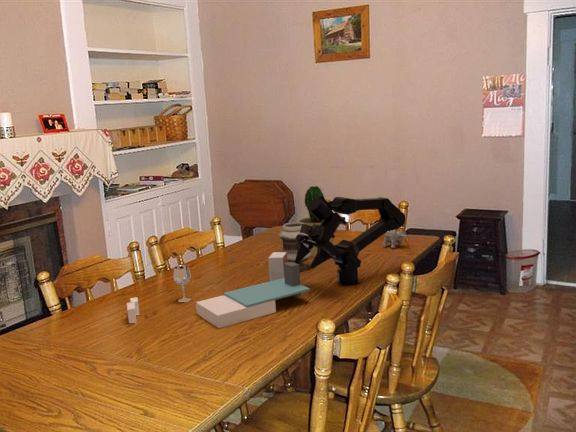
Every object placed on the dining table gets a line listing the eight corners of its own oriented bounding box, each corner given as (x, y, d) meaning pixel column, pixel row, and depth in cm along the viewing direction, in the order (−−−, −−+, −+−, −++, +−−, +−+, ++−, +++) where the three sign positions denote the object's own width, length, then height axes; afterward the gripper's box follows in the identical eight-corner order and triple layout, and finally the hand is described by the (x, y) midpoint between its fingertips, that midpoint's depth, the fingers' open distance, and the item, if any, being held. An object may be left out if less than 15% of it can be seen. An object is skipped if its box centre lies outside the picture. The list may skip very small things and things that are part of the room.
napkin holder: (136, 328, 179) (134, 310, 178) (106, 325, 184) (104, 308, 183) (164, 311, 193) (162, 295, 192) (135, 309, 197) (133, 292, 196)
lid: (284, 287, 204) (282, 258, 202) (310, 298, 191) (308, 267, 189) (224, 303, 192) (221, 272, 190) (247, 316, 179) (245, 283, 177)
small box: (284, 285, 211) (282, 257, 209) (269, 285, 212) (267, 257, 210) (289, 278, 218) (287, 251, 216) (274, 279, 219) (272, 251, 217)
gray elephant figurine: (388, 244, 261) (386, 228, 259) (414, 245, 255) (413, 227, 253) (381, 250, 253) (379, 232, 252) (407, 250, 247) (406, 232, 246)
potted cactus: (342, 250, 255) (338, 182, 249) (325, 259, 242) (321, 187, 236) (311, 247, 263) (307, 181, 257) (293, 256, 250) (289, 187, 245)
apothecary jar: (276, 272, 228) (273, 227, 225) (288, 263, 239) (285, 220, 236) (305, 273, 224) (302, 227, 220) (316, 264, 235) (313, 221, 231)
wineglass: (195, 298, 203) (192, 264, 201) (187, 303, 198) (184, 269, 195) (181, 297, 205) (177, 264, 203) (173, 302, 200) (169, 269, 197)
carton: (251, 299, 197) (250, 288, 197) (275, 312, 184) (275, 300, 183) (197, 314, 187) (195, 302, 186) (218, 328, 174) (217, 315, 173)
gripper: (297, 211, 205) (273, 247, 201) (329, 218, 189) (303, 257, 186) (317, 229, 210) (294, 265, 207) (349, 237, 195) (325, 276, 191)
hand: (303, 265), depth 197 cm, fingers open, 9 cm apart
